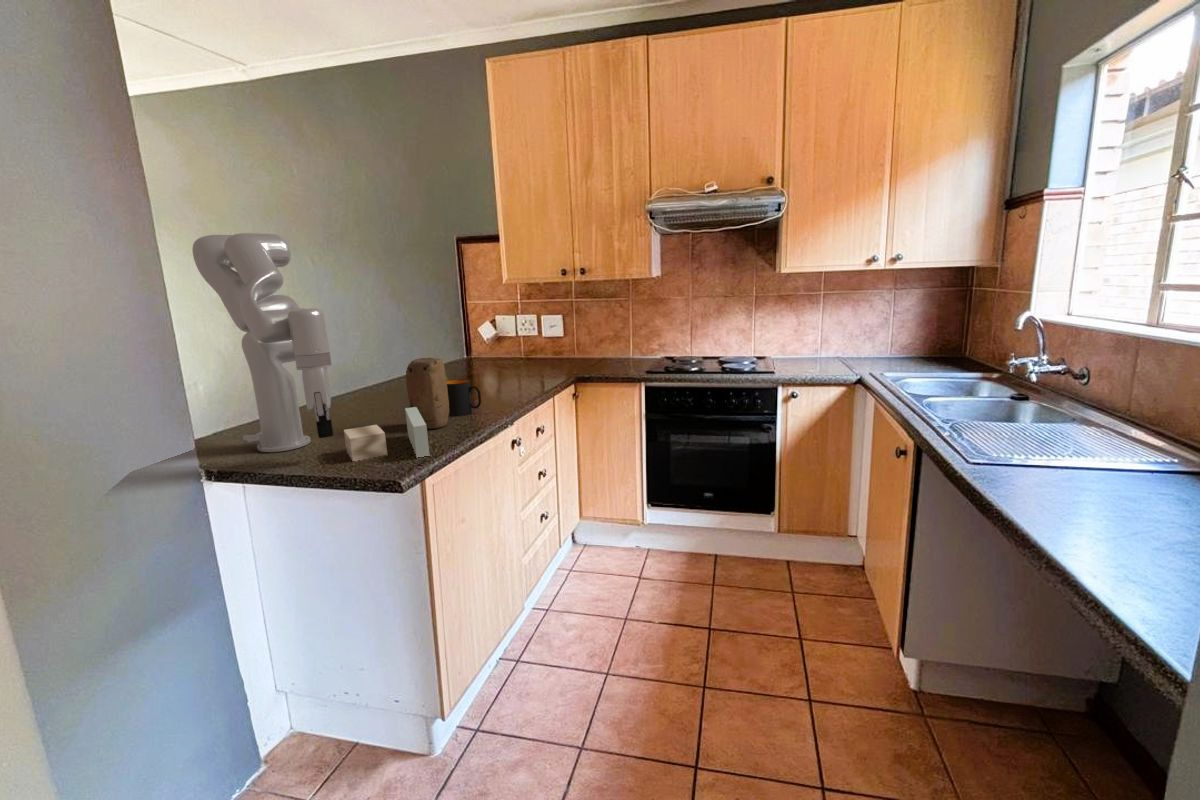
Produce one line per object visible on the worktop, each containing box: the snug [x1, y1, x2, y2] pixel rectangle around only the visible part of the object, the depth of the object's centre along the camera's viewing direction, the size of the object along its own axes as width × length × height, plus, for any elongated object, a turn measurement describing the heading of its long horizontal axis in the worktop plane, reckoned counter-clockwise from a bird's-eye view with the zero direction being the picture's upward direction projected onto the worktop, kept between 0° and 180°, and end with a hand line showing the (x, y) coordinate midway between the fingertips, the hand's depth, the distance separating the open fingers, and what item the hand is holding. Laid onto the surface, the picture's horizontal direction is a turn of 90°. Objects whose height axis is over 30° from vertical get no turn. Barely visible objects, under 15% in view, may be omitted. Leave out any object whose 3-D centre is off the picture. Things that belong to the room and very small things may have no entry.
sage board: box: [404, 407, 431, 459], centre depth 146 cm, size 3×22×8 cm, turn 24°
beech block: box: [343, 424, 388, 462], centre depth 141 cm, size 8×10×6 cm
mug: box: [447, 378, 482, 417], centre depth 179 cm, size 8×12×10 cm
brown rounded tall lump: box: [405, 357, 450, 430], centre depth 164 cm, size 11×8×20 cm
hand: (326, 436), depth 137 cm, fingers closed
